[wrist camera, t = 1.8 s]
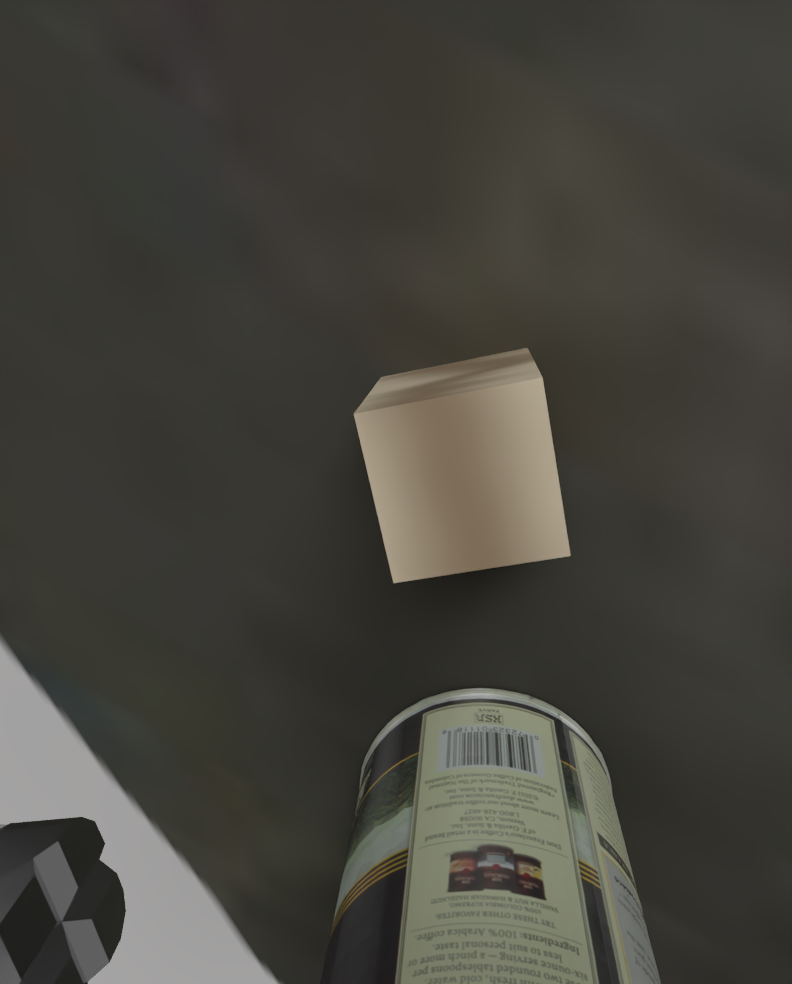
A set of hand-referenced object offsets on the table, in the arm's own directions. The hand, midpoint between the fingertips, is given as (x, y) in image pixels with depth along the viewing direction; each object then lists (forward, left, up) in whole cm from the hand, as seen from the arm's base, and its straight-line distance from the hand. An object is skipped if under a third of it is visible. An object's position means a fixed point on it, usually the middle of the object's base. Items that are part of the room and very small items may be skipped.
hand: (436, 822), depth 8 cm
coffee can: (+2, +15, -19) cm, 24 cm away
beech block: (0, 0, -18) cm, 18 cm away
